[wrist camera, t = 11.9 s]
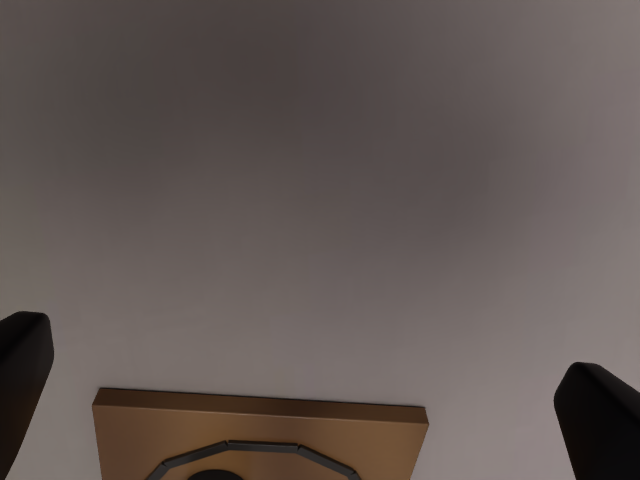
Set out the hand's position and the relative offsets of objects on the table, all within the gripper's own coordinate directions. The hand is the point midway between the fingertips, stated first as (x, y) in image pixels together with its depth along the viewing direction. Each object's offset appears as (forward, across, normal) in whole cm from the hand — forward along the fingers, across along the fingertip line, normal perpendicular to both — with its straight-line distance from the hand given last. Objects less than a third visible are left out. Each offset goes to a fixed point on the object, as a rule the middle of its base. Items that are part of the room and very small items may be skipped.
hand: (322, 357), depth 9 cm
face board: (+10, 0, +20) cm, 22 cm away
